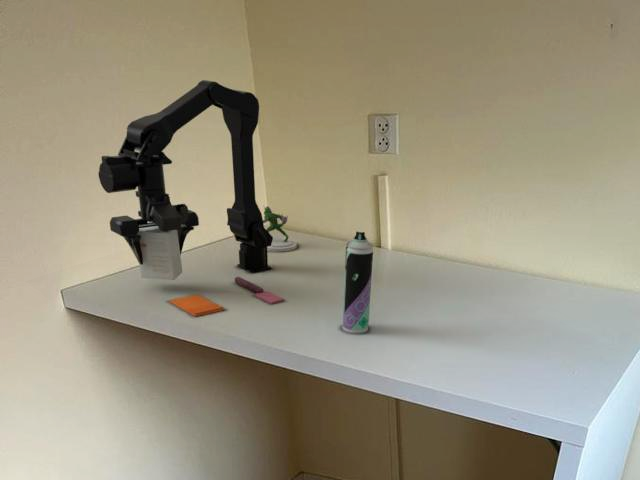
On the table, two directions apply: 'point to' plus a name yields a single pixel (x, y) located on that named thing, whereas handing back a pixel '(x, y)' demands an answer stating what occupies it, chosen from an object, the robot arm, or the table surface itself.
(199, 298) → the orange flat block
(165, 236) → the small box
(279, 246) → the monster figurine
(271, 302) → the spatula
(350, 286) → the spray can
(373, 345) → the table surface
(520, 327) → the table surface
